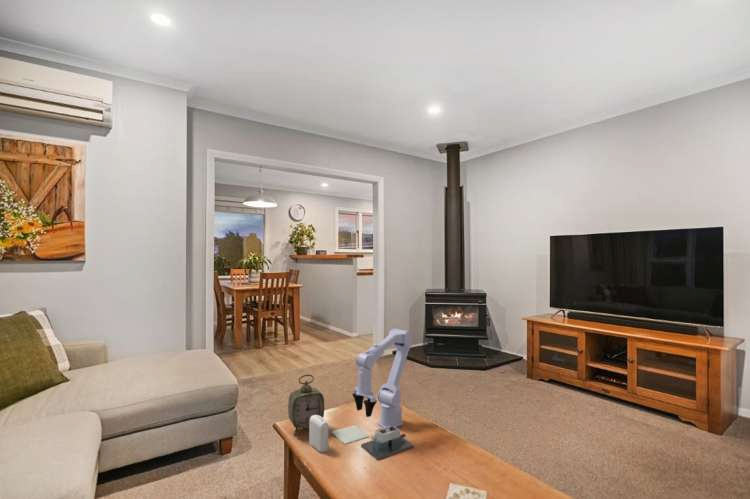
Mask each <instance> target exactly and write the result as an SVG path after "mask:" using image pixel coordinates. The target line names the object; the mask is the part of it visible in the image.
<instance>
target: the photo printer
mask: <svg viewBox="0 0 750 499" xmlns="http://www.w3.org/2000/svg"><path fill="white" fill-rule="evenodd" d="M308 429H309V430H308V431H309V433H308V434H309V435H308V436H309V439H308V441H309V442H308V443H309V444H310V446H312V447H313V448H314V449H315V450H317V451H318V452H320V453H325V452H327V451H328V450H329V423H328V422H327V420H326V419H325V418H324V417H323V418H322V417H321V416H319V415H313V416H311V418H310V421H309V427H308Z"/></svg>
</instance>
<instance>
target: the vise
mask: <svg viewBox="0 0 750 499" xmlns="http://www.w3.org/2000/svg"><path fill="white" fill-rule="evenodd" d="M387 432H390V428H386V429H385V433H387ZM406 436H407V435H406V433H403V434H400V437H398V438H395V439H392V440H389V441H386V442H383V443H381V442H380V441H379V440H378V439H376V438H375V437H374V438H373V439H372V440H370V441H367V442H364V443H361V446H360V447H361V448H362V449H364V450H365V452H367V453H368V454H369V455H371V456H372V457H373V458H374V459H375V460H376V461H380V460H382V459H385V458H388V457H390V456H393V455H396V454H399V453H403V452H405V451H407V450H410V449H414V446H415V444H413V443H411V442H410V441H408V440H407V439H406Z"/></svg>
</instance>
